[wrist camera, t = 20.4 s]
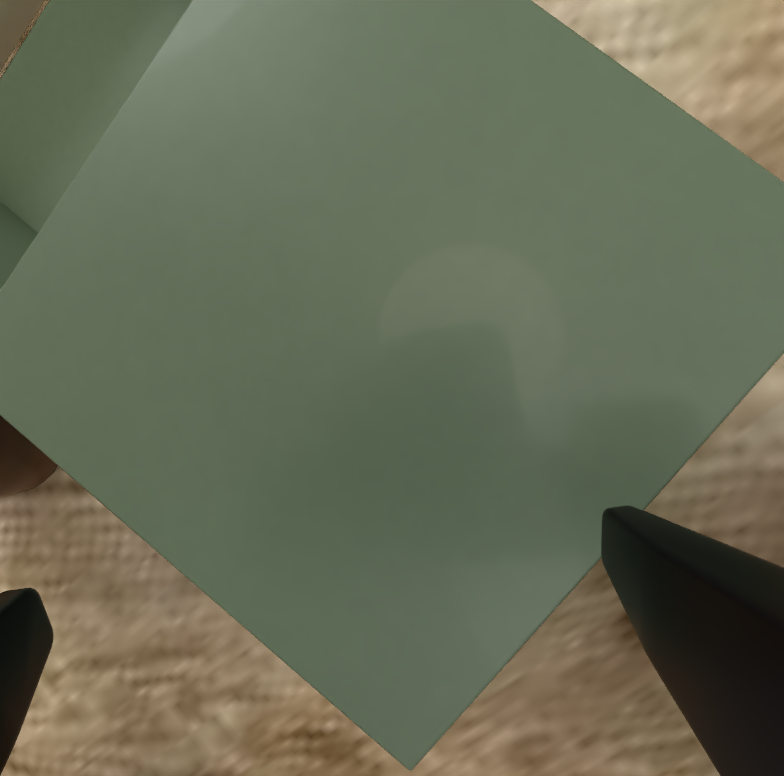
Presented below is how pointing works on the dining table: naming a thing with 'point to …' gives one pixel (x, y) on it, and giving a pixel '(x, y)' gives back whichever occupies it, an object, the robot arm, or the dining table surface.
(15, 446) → the pepper mill
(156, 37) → the drawer
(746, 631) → the robot arm
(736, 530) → the dining table surface
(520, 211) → the cabinet
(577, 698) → the dining table surface
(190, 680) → the dining table surface
